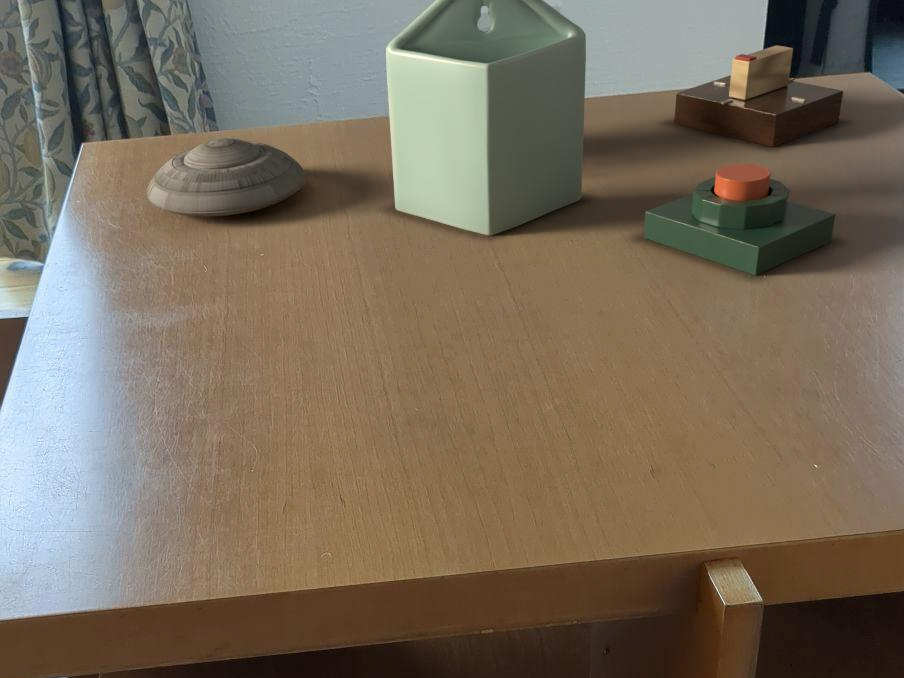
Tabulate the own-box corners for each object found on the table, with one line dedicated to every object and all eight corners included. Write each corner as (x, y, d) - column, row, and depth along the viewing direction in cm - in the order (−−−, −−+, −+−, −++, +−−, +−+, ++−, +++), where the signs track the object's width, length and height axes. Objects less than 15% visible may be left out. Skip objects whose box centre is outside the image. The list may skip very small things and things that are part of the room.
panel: (840, 121, 113) (846, 88, 111) (770, 148, 108) (774, 113, 106) (741, 100, 121) (744, 68, 119) (671, 124, 116) (674, 91, 114)
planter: (392, 241, 96) (375, -16, 85) (395, 207, 103) (379, -36, 91) (590, 230, 95) (600, -33, 83) (580, 197, 101) (588, -52, 90)
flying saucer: (141, 187, 113) (130, 131, 110) (291, 164, 115) (284, 107, 112) (157, 240, 101) (146, 177, 98) (324, 212, 103) (317, 150, 100)
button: (779, 194, 88) (782, 171, 87) (744, 207, 87) (747, 185, 86) (736, 182, 91) (739, 160, 90) (702, 195, 89) (704, 173, 88)
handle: (771, 82, 115) (776, 42, 112) (788, 85, 113) (793, 45, 111) (728, 96, 112) (732, 56, 110) (745, 100, 110) (749, 59, 108)
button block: (831, 241, 89) (839, 190, 87) (755, 275, 85) (762, 223, 83) (717, 208, 97) (722, 160, 94) (643, 237, 93) (646, 188, 90)
